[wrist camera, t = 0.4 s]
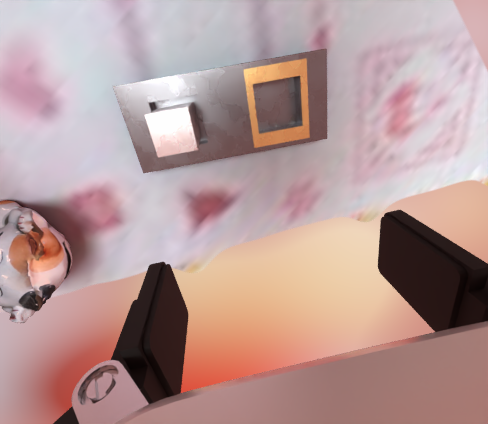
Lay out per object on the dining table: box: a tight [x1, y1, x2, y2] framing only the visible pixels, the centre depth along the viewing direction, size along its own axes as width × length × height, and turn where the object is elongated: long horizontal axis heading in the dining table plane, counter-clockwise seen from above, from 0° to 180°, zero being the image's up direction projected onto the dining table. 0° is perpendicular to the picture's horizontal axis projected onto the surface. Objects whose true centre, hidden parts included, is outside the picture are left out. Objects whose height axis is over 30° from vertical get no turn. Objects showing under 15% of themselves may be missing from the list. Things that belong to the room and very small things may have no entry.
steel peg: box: [145, 102, 201, 157], centre depth 28 cm, size 4×4×9 cm
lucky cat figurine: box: [0, 200, 72, 323], centre depth 32 cm, size 15×12×14 cm
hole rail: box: [113, 49, 327, 173], centre depth 32 cm, size 10×24×3 cm, turn 99°
